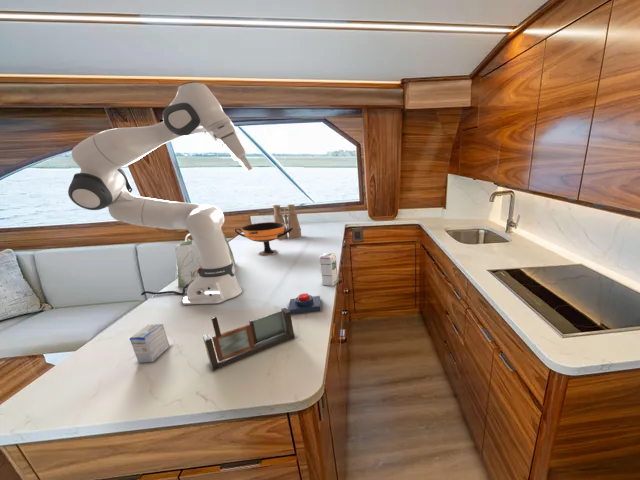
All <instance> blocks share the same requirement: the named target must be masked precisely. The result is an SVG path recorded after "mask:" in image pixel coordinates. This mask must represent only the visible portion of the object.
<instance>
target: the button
mask: <svg viewBox="0 0 640 480" xmlns="http://www.w3.org/2000/svg"><path fill="white" fill-rule="evenodd" d="M309 295H310V294H309V293H307V292H305V293H300V294H299V295H298V296H297V297H299V301H306V300H309Z"/></svg>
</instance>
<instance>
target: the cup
mask: <svg viewBox="0 0 640 480" xmlns="http://www.w3.org/2000/svg"><path fill="white" fill-rule="evenodd" d="M285 226H286V224H284V223H279V222H274V221H269V222H268V221H267V222H266V221H265V222H258V223H251V224H246V225H244V226H242V227H241V228H235V229H234V232H235V233H236V234H237V235H238V236H241V237H242V238H246V239H248V240H250V241H253V242H257V243H263V247H264V248H263V250H261V251H260V252H259V253H258V254H259V255H261V256H269V255H274V254H276V253H277V252H278V251H277V250H276V249H271V246H270V242H273V241H276V240H278V239H277V238H279V237H281V236H284V235H286V234H287V235H288V234H289V232H290V231H291V230H292V229H293V228H291V229H290V230H288V231H284V227H285ZM238 231H239V232H238ZM241 232H242V233H241Z"/></svg>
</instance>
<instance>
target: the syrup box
mask: <svg viewBox="0 0 640 480" xmlns="http://www.w3.org/2000/svg"><path fill="white" fill-rule="evenodd" d="M318 259H319V265H320V274H321V281H322V285H323V286H335V285H336V284H337V283H338V282H339V277H338V276H339V274H338V266H337V257H336V253H334V252H324V253H323V254H322V255H320V256H319V257H318Z"/></svg>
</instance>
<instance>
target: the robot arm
mask: <svg viewBox="0 0 640 480" xmlns="http://www.w3.org/2000/svg"><path fill="white" fill-rule="evenodd" d="M162 120H163V121H161V122H157V123H155V124H152V125H147V126H131V127H129V126H128V127H115V128H111V129H106V130H103V131H99V132H98V133H95V134H92V135H91V136H89V137H87V138H85V139H83V140H81V141H80V142H79V143H77V144H76V145H75V146H74V147H73V148H72V150H71V157H72V159H73V161H74V163H76V165H77V166H78V167H79V169H80V172H77V173H74V175H73V176H72V180H71V181H70V185H69V186H68V189H67V195H68V197H69V199H70V200H71V201H72V203H73V204H75V205H76V206H78V207H79V208H82V209H83V210H84V209H85V210H88V211H100V210H103V209H106V208H108V209H107V210H108V213H109V215H110V217H112V218H113V219H114V220H116V221H117V222H118V221H119V222H122V223H126V224H128V225H129V224H130V225H134V226H138V227H139V226H140V227H147V228H154V229H163V230H187V231H188V232H189V233H190V234H191V235H190V236H191V239H192V240H193V241H194V243H195V245H196V247H197V250H198V253H199V257H200V260H201V264H202V265H201V266H200V268H199V269H198V270H197V271H198V272H197V274H198V273H199V276H198V277H197V278H196V279H195V280H192V281H190V282H188V283H186V286H185V287H182V292H179V291H175V290H165V291H157V292H156V291H155V292H154V291H151V290H150V291H149V290H145V291H142V292H141V294H140V296H144V295H145V294H149V295H164V294H176V295H180V296H183V295H185V293H186V295H185V296H184V297H183V298H182V300H181V301H182V305H211V304H220V303H223V302H225V301H227V300H231V299H233V298H236V297H237V296H239V295H241V293H242V292H243V290H242V288H241V286H240V284H239V282H238V280H237V276H236V270H235V265H234V266H233V262H231V258H230V253H229V249H228V245H227V243H226V241H225V238H224V236H223V233H224V232H223V229H222V226H223V225H224V223H225V215H224V213H223V211H222V210H221V208H219V207H217V206H216V205H211V204H203V203H194V202H193V203H192V202H181V201H170V200H166V199H165V200H164V199H158V198H151V197H145V196H140V195H139V196H138V195H134V194H132V192H133V187H132V185H131V183H130V179H129V176H128V174H127V173H126V172H125V170H124V169H123V168H124V167H127V166H129V165H131V164H133V163H135V162H137V161H139V160H140V159H142V158H143V157H145V156H146V155H148V154H149V153H151V152H152V151H154V150H156V149H157V148H159V147H161V146H163V145H164V144H167V143H170V142H172V141H174V140H178V139H181V138H182V137H193V136H204V135H207V134H208V136H209V137H210V139H211V140H212V141H213V143H214V144H217V143H219V145H220V147H225V149H226V150H227V152H228V153H229V154H230V155H231V158H232V159H233V160H234V161H238V163H239V165H241V167H242V168H243V169H244V171H246V172H247V171H248V172H249V171H251V170H253V167H252V166H251V164H250V162H249V160H248V159H247V157H246V156H247V152H246V149H245V147H244V146H243V145H244V144H243V143H242V142H241V139H240V138H239V137H238V135H237V134H238V133H239V130H238V129H237V128H236V126H235V125H234V123H233V121H232V120H231V119H230V117H229V116H228V115H227V114H226V113H225V111H224V110H223V107H222V105H221V103H220V102H219V100H218V99H217V97H216V96H215V95H214V94H213V92H212V91H211V89H210V88H209V87H208V86H207V85H206V84H205V83H203V82H200V81H188V82H184V83H181V84H180V85H178V87H177V92H176V95H175V97H174V98H173V100H172V102H170V104H168V106H166V107H165V108H164V109H163V111H162Z"/></svg>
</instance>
